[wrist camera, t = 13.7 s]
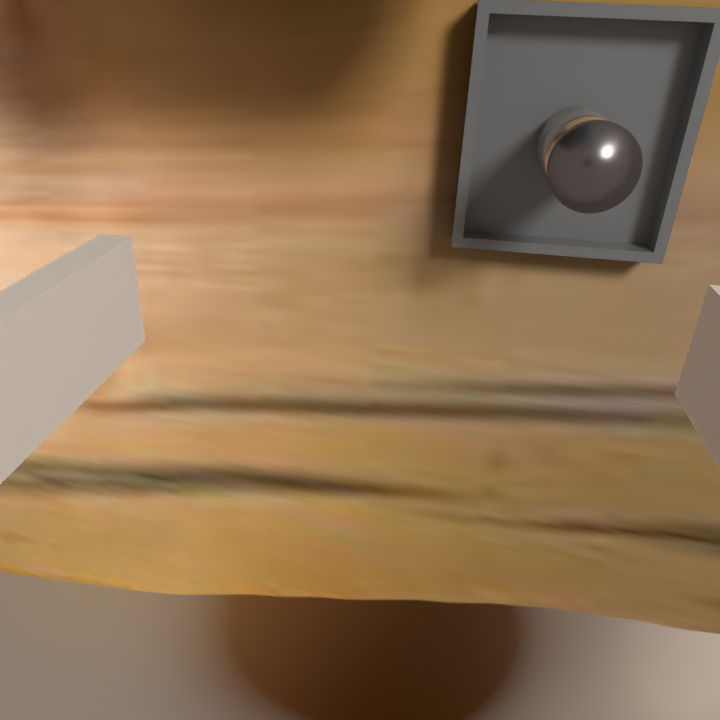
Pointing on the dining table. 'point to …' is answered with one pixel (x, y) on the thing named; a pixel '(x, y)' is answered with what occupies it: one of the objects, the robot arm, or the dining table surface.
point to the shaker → (588, 159)
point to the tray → (587, 89)
